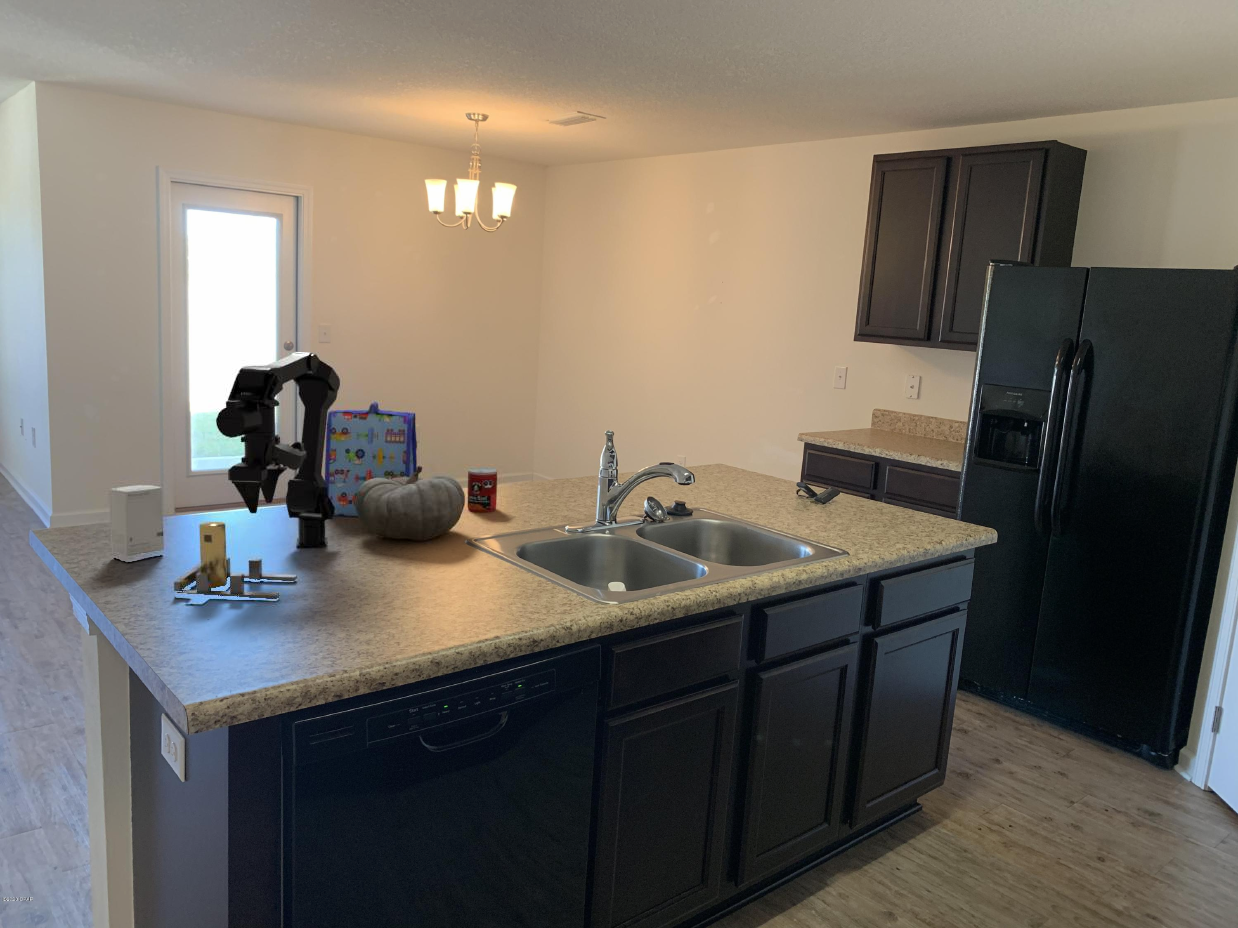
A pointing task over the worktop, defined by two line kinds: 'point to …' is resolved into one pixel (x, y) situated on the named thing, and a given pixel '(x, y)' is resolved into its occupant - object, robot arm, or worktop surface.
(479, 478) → the canned food
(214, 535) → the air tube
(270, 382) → the robot arm
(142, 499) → the skincare box
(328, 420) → the lunch bag
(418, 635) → the worktop surface
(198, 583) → the frame
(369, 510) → the gourd
